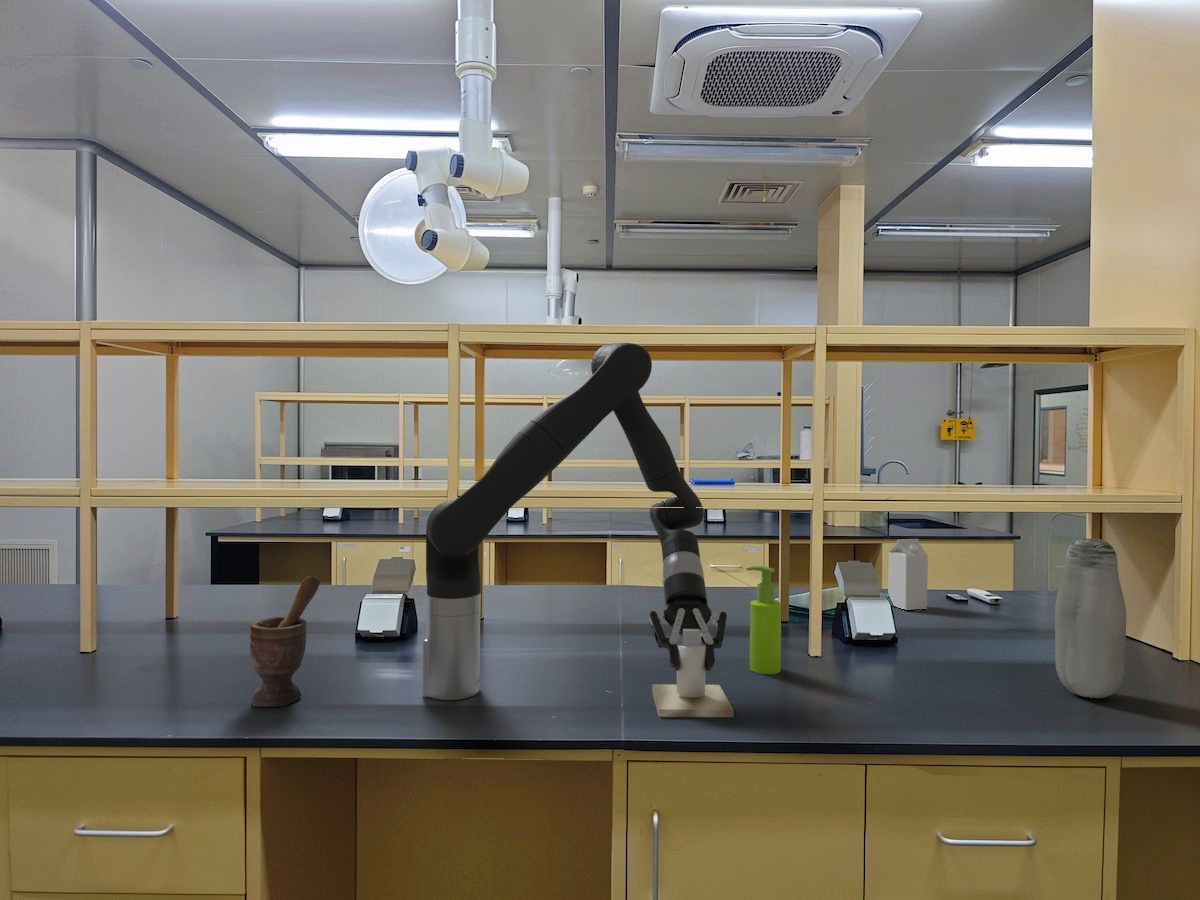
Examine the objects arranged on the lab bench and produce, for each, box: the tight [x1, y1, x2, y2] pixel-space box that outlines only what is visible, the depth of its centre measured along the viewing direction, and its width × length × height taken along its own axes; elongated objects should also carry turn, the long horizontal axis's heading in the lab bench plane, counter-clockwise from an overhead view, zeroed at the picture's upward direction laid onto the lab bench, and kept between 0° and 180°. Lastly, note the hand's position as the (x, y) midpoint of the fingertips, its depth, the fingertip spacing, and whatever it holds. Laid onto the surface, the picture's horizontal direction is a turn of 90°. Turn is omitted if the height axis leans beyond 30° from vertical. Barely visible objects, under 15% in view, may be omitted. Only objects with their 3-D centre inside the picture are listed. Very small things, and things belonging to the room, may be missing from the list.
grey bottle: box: [1054, 538, 1127, 699], centre depth 127 cm, size 10×10×28 cm
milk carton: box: [887, 538, 929, 610], centre depth 196 cm, size 7×7×19 cm
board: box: [651, 683, 735, 718], centre depth 120 cm, size 12×12×1 cm
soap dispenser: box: [745, 565, 782, 675], centre depth 139 cm, size 6×7×20 cm
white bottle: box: [676, 629, 707, 697], centre depth 120 cm, size 5×5×11 cm
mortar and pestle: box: [249, 575, 321, 708], centre depth 120 cm, size 12×9×20 cm
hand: (693, 668), depth 118 cm, fingers closed on white bottle, 4 cm apart
